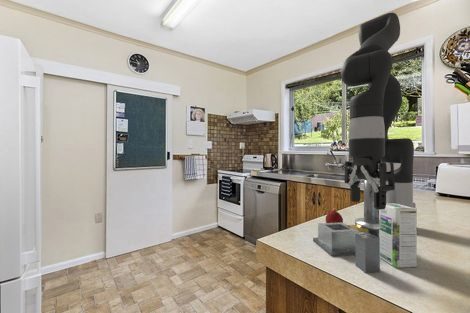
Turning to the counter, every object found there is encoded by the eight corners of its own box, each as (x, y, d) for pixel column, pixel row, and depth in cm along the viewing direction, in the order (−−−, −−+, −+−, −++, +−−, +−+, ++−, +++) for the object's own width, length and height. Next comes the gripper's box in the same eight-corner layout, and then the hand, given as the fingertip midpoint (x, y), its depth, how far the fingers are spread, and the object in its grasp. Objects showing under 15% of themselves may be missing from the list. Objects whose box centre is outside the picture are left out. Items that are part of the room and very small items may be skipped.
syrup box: (378, 257, 60) (378, 203, 60) (399, 256, 61) (398, 202, 61) (395, 268, 54) (395, 208, 54) (418, 267, 55) (417, 207, 55)
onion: (344, 233, 79) (344, 210, 79) (327, 232, 80) (327, 210, 80) (340, 228, 84) (340, 207, 84) (324, 227, 85) (324, 206, 85)
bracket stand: (372, 237, 74) (372, 168, 74) (400, 252, 63) (399, 170, 63) (313, 240, 72) (312, 169, 72) (331, 256, 61) (330, 171, 61)
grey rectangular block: (369, 264, 56) (368, 232, 56) (379, 272, 53) (379, 238, 53) (355, 265, 56) (355, 233, 56) (365, 273, 52) (365, 238, 52)
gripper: (405, 134, 48) (406, 211, 48) (361, 139, 62) (361, 199, 62) (372, 134, 47) (373, 212, 47) (335, 139, 61) (335, 199, 61)
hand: (366, 204), depth 54 cm, fingers open, 8 cm apart
